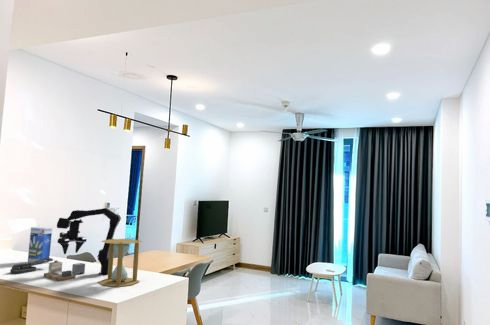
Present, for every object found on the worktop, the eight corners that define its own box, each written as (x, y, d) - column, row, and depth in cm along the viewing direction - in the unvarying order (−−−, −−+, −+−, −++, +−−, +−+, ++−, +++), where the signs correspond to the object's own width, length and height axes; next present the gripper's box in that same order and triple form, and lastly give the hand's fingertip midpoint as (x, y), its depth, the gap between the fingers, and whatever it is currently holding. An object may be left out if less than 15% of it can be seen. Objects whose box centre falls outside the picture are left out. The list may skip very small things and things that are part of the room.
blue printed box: (27, 262, 260) (30, 227, 263) (35, 260, 267) (39, 226, 270) (41, 264, 256) (44, 228, 259) (49, 262, 264) (52, 227, 266)
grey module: (84, 273, 232) (85, 263, 233) (75, 275, 227) (76, 265, 228) (80, 272, 235) (81, 262, 235) (71, 274, 230) (72, 264, 230)
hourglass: (146, 281, 217) (149, 240, 219) (116, 289, 198) (120, 244, 200) (120, 276, 229) (123, 237, 231) (90, 282, 210) (93, 240, 212)
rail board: (75, 278, 219) (76, 262, 220) (59, 281, 210) (60, 264, 211) (59, 274, 229) (60, 258, 230) (43, 276, 221) (45, 260, 221)
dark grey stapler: (54, 258, 245) (16, 264, 223) (53, 268, 244) (15, 274, 223) (47, 257, 249) (8, 262, 228) (46, 267, 249) (7, 272, 227)
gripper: (76, 227, 245) (72, 250, 243) (53, 228, 228) (49, 253, 226) (88, 229, 241) (85, 252, 239) (65, 230, 224) (62, 255, 222)
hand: (70, 253), depth 232 cm, fingers open, 9 cm apart
